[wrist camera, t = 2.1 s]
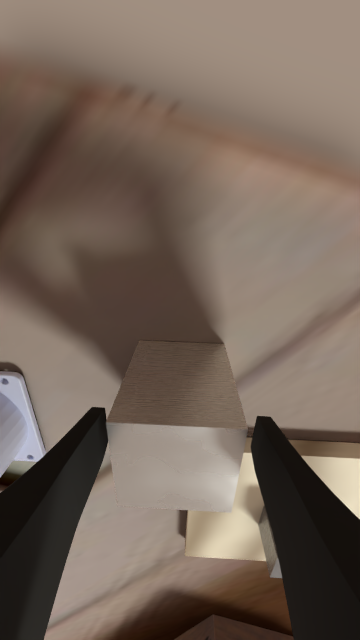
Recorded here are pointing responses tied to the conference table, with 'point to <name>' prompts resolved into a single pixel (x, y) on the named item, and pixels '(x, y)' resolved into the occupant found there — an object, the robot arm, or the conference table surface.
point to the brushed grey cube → (177, 429)
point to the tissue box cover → (230, 631)
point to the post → (269, 545)
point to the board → (242, 523)
